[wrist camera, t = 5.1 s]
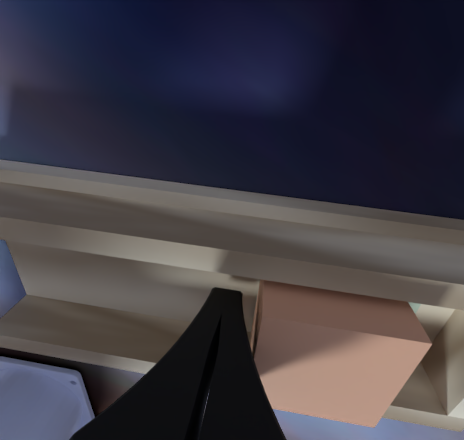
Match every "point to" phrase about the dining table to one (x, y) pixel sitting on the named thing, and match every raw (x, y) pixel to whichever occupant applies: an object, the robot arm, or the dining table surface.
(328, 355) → the block
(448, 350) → the chute
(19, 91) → the dining table surface
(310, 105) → the dining table surface
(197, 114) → the dining table surface
